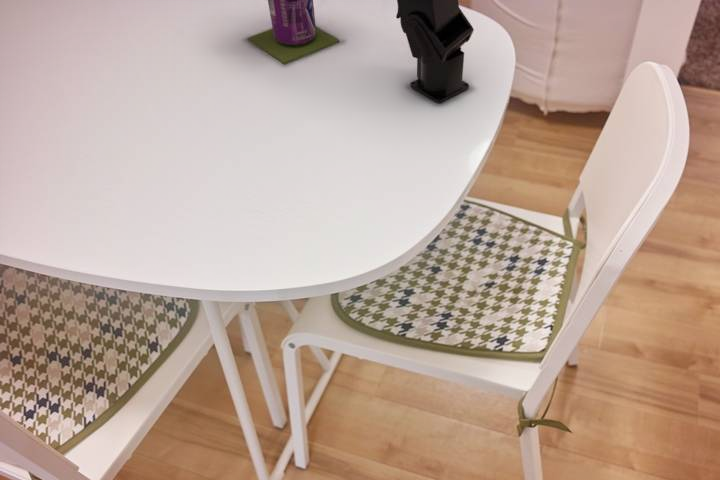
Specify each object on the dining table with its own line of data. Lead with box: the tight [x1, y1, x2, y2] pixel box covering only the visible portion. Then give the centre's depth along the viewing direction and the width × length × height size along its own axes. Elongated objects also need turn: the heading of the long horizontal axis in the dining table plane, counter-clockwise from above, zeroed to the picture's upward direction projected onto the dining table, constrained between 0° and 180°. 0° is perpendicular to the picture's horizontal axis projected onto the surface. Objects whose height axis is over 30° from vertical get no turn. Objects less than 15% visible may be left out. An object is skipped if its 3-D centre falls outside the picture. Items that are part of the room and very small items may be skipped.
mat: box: [247, 26, 340, 65], centre depth 102 cm, size 11×11×1 cm
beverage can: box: [267, 0, 317, 45], centre depth 98 cm, size 7×7×12 cm
